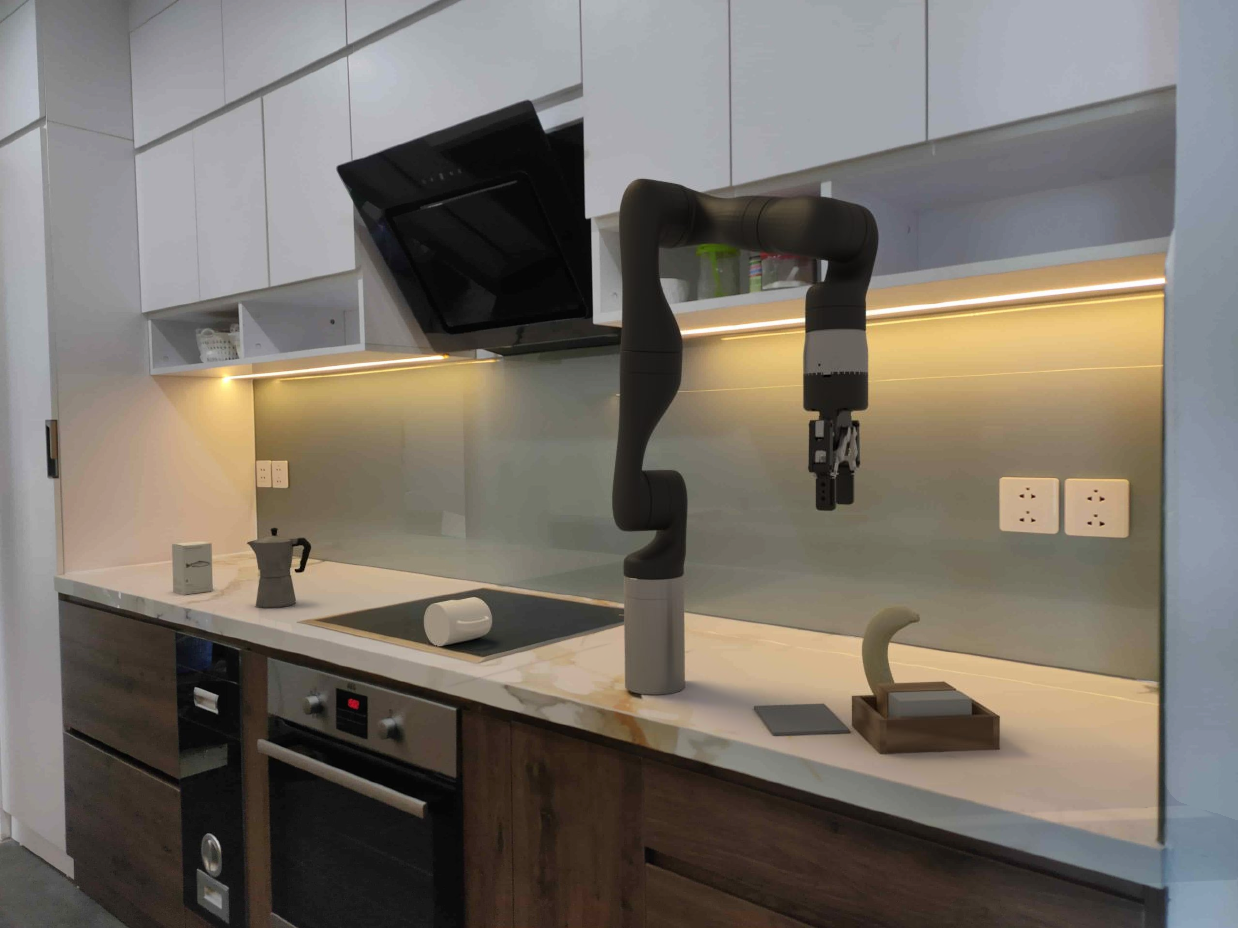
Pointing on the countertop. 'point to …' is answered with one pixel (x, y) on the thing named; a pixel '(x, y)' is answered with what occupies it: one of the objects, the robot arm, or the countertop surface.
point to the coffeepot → (277, 568)
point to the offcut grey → (929, 704)
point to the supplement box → (192, 567)
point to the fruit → (883, 642)
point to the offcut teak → (888, 688)
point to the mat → (800, 719)
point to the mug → (457, 621)
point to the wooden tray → (925, 729)
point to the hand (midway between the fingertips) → (835, 507)
